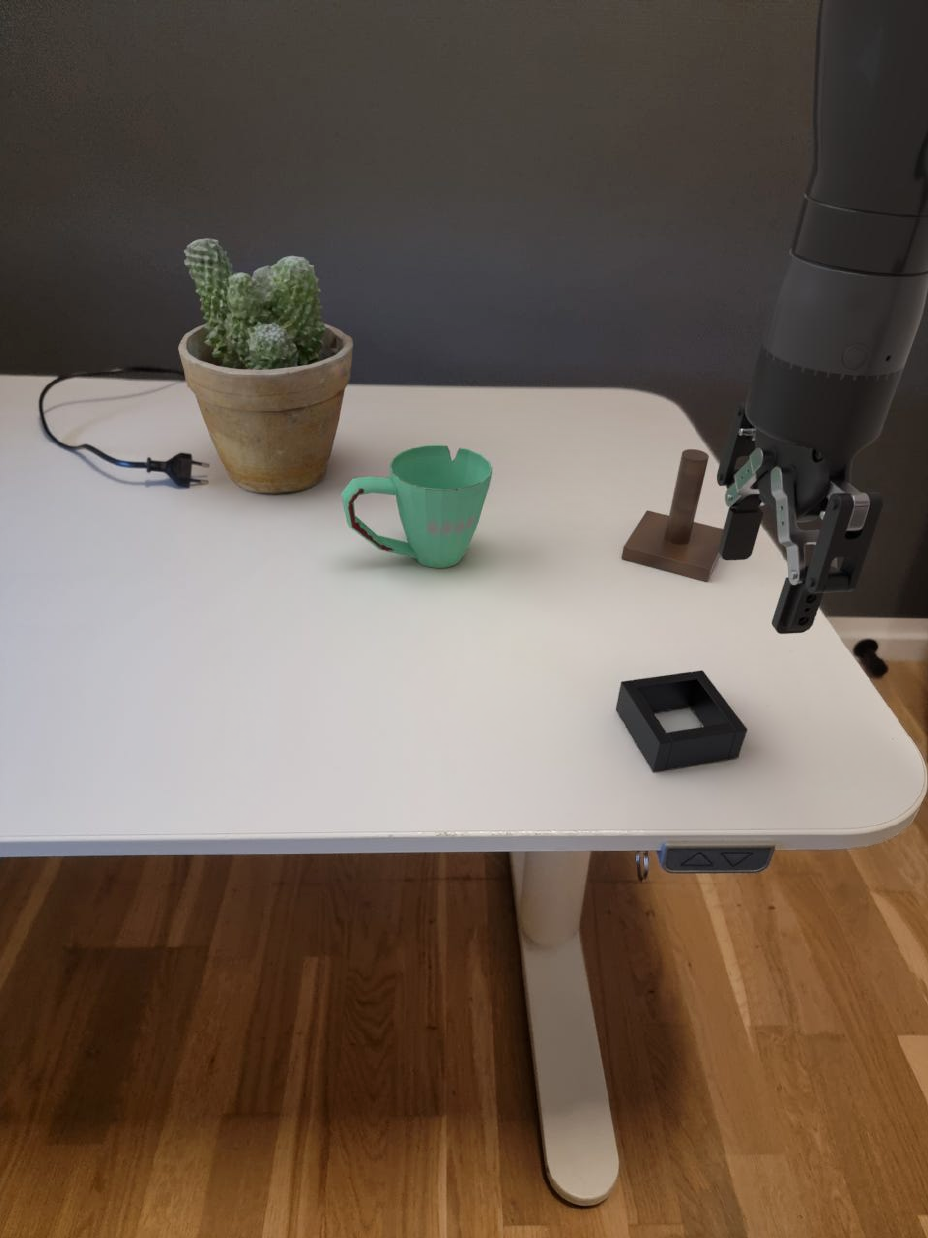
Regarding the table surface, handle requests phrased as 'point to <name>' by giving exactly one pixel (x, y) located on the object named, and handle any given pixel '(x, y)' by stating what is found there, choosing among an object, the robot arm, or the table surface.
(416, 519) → the mug
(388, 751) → the table surface
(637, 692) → the ring
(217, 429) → the potted plant
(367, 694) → the table surface
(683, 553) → the post
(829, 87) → the robot arm
